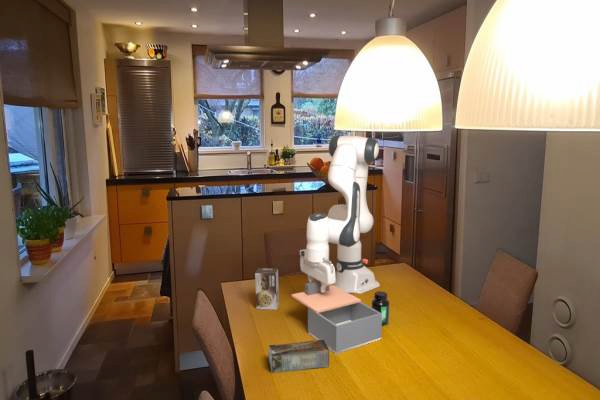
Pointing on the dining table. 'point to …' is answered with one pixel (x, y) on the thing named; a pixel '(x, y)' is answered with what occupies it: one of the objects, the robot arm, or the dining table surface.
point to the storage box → (346, 326)
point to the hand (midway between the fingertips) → (317, 288)
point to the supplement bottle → (381, 306)
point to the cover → (324, 297)
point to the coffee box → (267, 288)
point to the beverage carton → (298, 356)
